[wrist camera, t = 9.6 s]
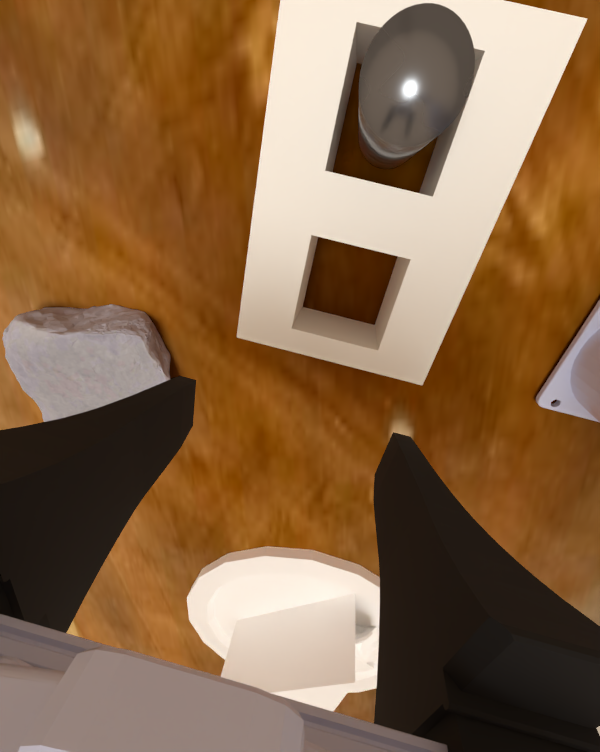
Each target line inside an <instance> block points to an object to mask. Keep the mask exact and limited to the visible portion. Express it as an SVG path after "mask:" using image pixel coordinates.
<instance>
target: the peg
mask: <svg viewBox="0 0 600 752" xmlns="http://www.w3.org/2000/svg"><path fill="white" fill-rule="evenodd" d="M474 70H475V53H474V46H473V42H472V38H471V36H470V33H469V30H468V29H467V27H466V25H465V23H464V22H463V21H462V19H461V18H460V17H459V16H458V15H457V14H456V13H455V12H454V11H452V10H450V9H449V8H447V7H445V6H442V5H439V4H434V3H421V4H416V5H413V6H410V7H407V8H405V9H403V10H401V11H399V12H398V13H397V14H395V15H394V16H392V17H391V18H390V19H389V20H388V21H387V22H386V23H385V24H384V25H383V26H382V27H381V28H380V29H379V31H378V32H377V34H376V35H375V36H374V38H373V40H372V41H371V43H370V45H369V47H368V49H367V52H366V54H365V56H364V60H363V63H362V67H361V71H360V78H359V119H358V140H359V146H360V149H361V152H362V154H363V156H364V157H365V159H366V160H367V161H368V162H369V163H370V164H372V165H373V166H375V167H378V168H382V169H391V168H395V167H398V166H400V165H402V164H403V163H405V162H406V161H407V160H409V159H410V158H411V157H412V156H414V155H415V154H416V153H417V152H418V151H420V150H421V149H422V148H423V147H425V146H426V145H427V144H428V143H430V142H431V141H432V140H433V139H435V138H436V137H437V136H438V135H440V134H441V133H442V132H443V131H444V130H445V129H446V128H448V127H449V126H450V124H451V123H452V122H453V121H454V120H455V118H456V117H457V116H458V114H459V113H460V111H461V110H462V108H463V106H464V104H465V102H466V100H467V98H468V95H469V92H470V89H471V86H472V82H473V78H474Z"/></svg>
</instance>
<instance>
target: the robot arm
mask: <svg viewBox="0 0 600 752" xmlns="http://www.w3.org/2000/svg"><path fill="white" fill-rule="evenodd" d="M195 386H196V380H193V379H190V378H186V377H182V376H178V377H175V378H172V379H170V380H168V381H165V382H163V383H160V384H158V385H156V386H153V387H151V388H149V389H146V390H144V391H141V392H139V393H137V394H134V395H132V396H129V397H126V398H124V399H121V400H118V401H116V402H113V403H110V404H107V405H105V406H102V407H99V408H96V409H93V410H89V411H86V412H83V413H79V414H76V415H72V416H68V417H65V418H61V419H56V420H51V421H47V422H42V423H38V424H33V425H28V426H23V427H18V428H12V429H6V430H0V752H600V736H599V734H598V731H597V729H596V728H597V727H598V726H600V626H598V625H597V624H596V623H594V622H593V621H592V620H590V619H589V618H588V617H586V616H585V615H583V614H582V613H581V612H579V611H578V610H577V609H575V608H574V607H573V606H571V605H570V604H569V603H567V602H566V601H564V600H563V599H562V598H561V597H559V596H558V595H557V594H555V593H554V592H553V591H552V590H551V589H549V588H548V587H547V586H546V585H544V584H543V583H542V582H541V581H539V580H538V579H537V578H536V577H535V576H533V575H532V574H531V573H530V572H529V571H528V570H526V569H525V568H524V567H523V566H522V565H521V564H519V563H518V562H517V561H516V560H515V559H514V558H513V557H512V556H511V555H510V554H509V553H507V552H506V551H505V550H504V549H503V548H502V547H501V546H500V545H499V544H498V543H497V542H496V541H495V540H494V539H493V538H492V537H491V536H490V535H489V534H488V533H487V532H486V531H485V530H484V529H483V528H482V527H481V526H480V525H479V524H478V523H477V522H476V521H475V520H474V519H473V518H472V517H471V515H470V514H469V513H468V512H467V511H466V510H465V509H464V507H463V506H462V505H461V504H460V503H459V501H458V500H457V499H456V498H455V497H454V495H453V494H452V493H451V492H450V490H449V489H448V488H447V487H446V485H445V484H444V483H443V481H442V480H441V479H440V477H439V476H438V475H437V473H436V472H435V471H434V469H433V468H432V466H431V465H430V464H429V462H428V461H427V459H426V458H425V457H424V455H423V454H422V452H421V451H420V449H419V448H418V447H417V445H416V444H415V442H414V441H413V440H412V438H411V437H409V436H405V435H401V434H398V433H394V432H393V434H392V436H391V439H390V441H389V443H388V445H387V448H386V450H385V452H384V455H383V457H382V459H381V462H380V464H379V466H378V468H377V471H376V473H375V481H374V511H375V522H376V533H377V544H378V554H379V567H380V616H379V648H378V670H377V689H376V704H375V719H374V724H373V723H370V722H367V721H363V720H360V719H356V718H353V717H350V716H346V715H343V714H339V713H336V712H333V711H329V710H326V709H322V708H319V707H316V706H312V705H309V704H305V703H302V702H299V701H295V700H292V699H288V698H285V697H282V696H278V695H275V694H271V693H269V692H266V691H264V690H262V689H259V688H257V687H253V686H250V685H247V684H243V683H240V682H236V681H233V680H229V679H226V678H223V677H219V676H216V675H212V674H209V673H206V672H202V671H199V670H195V669H192V668H189V667H185V666H182V665H178V664H175V663H172V662H168V661H165V660H161V659H158V658H154V657H151V656H148V655H144V654H141V653H137V652H134V651H131V650H126V649H120V648H115V647H111V646H108V645H104V644H101V643H98V642H94V641H91V640H87V639H84V638H81V637H77V636H74V635H70V634H67V633H66V632H67V630H68V628H69V626H70V625H71V623H72V621H73V619H74V617H75V615H76V613H77V611H78V609H79V607H80V605H81V603H82V601H83V599H84V597H85V596H86V594H87V592H88V590H89V588H90V586H91V585H92V583H93V581H94V579H95V577H96V576H97V574H98V572H99V570H100V568H101V566H102V565H103V563H104V561H105V559H106V558H107V556H108V554H109V552H110V551H111V549H112V547H113V545H114V544H115V542H116V540H117V538H118V537H119V535H120V533H121V532H122V530H123V528H124V527H125V525H126V523H127V522H128V520H129V518H130V517H131V515H132V514H133V512H134V510H135V509H136V507H137V506H138V504H139V503H140V501H141V500H142V498H143V497H144V496H145V494H146V493H147V492H148V490H149V489H150V488H151V486H152V485H153V484H154V482H155V481H156V480H157V478H158V477H159V476H160V475H161V473H162V472H163V471H164V469H165V468H166V467H167V465H168V464H169V463H170V461H171V460H172V459H173V457H174V456H175V454H176V453H177V452H178V450H179V449H180V447H181V446H182V444H183V442H184V441H185V439H186V437H187V435H188V433H189V431H190V430H191V428H192V426H193V414H194V400H195ZM553 400H557V401H556V402H555V403H553V404H551V402H552V401H553ZM536 402H537V404H538V405H539V406H540V407H543V408H546V409H550V410H554V411H558V412H562V413H566V414H570V415H573V416H577V417H581V418H585V419H589V420H593V421H597V422H600V300H599V301H598V303H597V304H596V306H595V307H594V309H593V310H592V312H591V314H590V315H589V317H588V318H587V320H586V321H585V323H584V324H583V326H582V327H581V329H580V330H579V332H578V333H577V335H576V337H575V338H574V340H573V341H572V343H571V344H570V346H569V347H568V349H567V350H566V352H565V353H564V355H563V356H562V358H561V360H560V361H559V363H558V364H557V366H556V367H555V369H554V370H553V372H552V373H551V375H550V376H549V378H548V379H547V381H546V383H545V384H544V386H543V387H542V389H541V390H540V392H539V393H538V395H537V396H536Z"/></svg>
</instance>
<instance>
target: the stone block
mask: <svg viewBox="0 0 600 752" xmlns="http://www.w3.org/2000/svg"><path fill="white" fill-rule="evenodd" d="M3 335H4V336H3V341H4V347H5V350H6V355H5V357H6V359H7V361H8V363H9V365H10V368H11V370H12V371H13V373H14V374H15V376H16V378H17V381H18V382H19V383H20V385H21V387H22V389H23V390H24V391H25V392H26V393H27V394H28V395H29V396H30V397H31V398H32V399H33V400H34V401H35V402H36V403H37V405H38V406H39V408H40V410H41V412H42V416H43V420H44V422H47V421H51V420H56V419H61V418H65V417H68V416H72V415H76V414H79V413H83V412H86V411H89V410H93V409H96V408H99V407H102V406H105V405H107V404H110V403H113V402H116V401H118V400H121V399H124V398H126V397H129V396H132V395H134V394H137V393H139V392H141V391H144V390H146V389H149V388H151V387H153V386H156V385H158V384H160V383H163V382H165V381H168V380H170V361H171V358H170V353H169V351H168V350H167V349H166V347H165V345H164V343H163V340H162V338H161V336H160V334H159V333H158V331H157V329H156V327H155V325H154V323H153V322H152V321H151V319H150V318H149V316H148V315H147V314H146V313H145V312H142V311H139V310H133V309H129V308H125V307H122V306H118V305H113V304H110V305H105V306H100V307H96V306H93V307H91V308H89V309H77V308H70V307H47V308H43V309H41V310H35V311H30V312H26V313H23V314H19V315H17V316H16V317H15V318H14V319H13V320H12V321H11V323H10V324H9V326H8V327H7V328H6V329H5V330H4V333H3Z"/></svg>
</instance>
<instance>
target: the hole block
mask: <svg viewBox="0 0 600 752" xmlns="http://www.w3.org/2000/svg"><path fill="white" fill-rule="evenodd" d="M421 3H434V4H439V5H442V6H445V7H447V8H449V9H450V10H452V11H454V12H455V13H456V14H457V15H458V16H459V17H460V18H461V19H462V21H463V22H464V23H465V25H466V27H467V29H468V30H469V33H470V36H471V38H472V42H473V46H474V53H475V70H474V78H473V82H472V86H471V89H470V92H469V95H468V98H467V100H466V102H465V104H464V106H463V108H462V110H461V111H460V113H459V114H458V116H457V117H456V118H455V120H454V121H453V122H452V123H451V124H450V126H449V127H448V128H446V129H445V130H444V131H443V132H442V133H441V134H440V135H438V138H437V141H436V144H435V147H434V150H433V153H432V156H431V159H430V162H429V165H428V168H427V171H426V174H425V177H424V180H423V183H422V186H421V189H420V192H419V193H416V192H412V191H408V190H404V189H399V188H395V187H391V186H387V185H383V184H379V183H374V182H370V181H366V180H362V179H358V178H354V177H349V176H345V175H341V174H337V173H333V168H334V164H335V159H336V155H337V150H338V146H339V141H340V137H341V132H342V128H343V123H344V119H345V114H346V110H347V105H348V101H349V96H350V92H351V87H352V83H353V78H354V74H355V69H356V65H357V63H359V64H362V63H363V60H364V56H365V54H366V52H367V49H368V47H369V45H370V43H371V41H372V40H373V38H374V36H375V35H376V34H377V32H378V31H379V29H380V28H381V27H382V26H383V25H384V24H385V23H386V22H387V21H388V20H389V19H390V18H391V17H392V16H394V15H395V14H397V13H398V12H399V11H401V10H403V9H405V8H407V7H410V6H413V5H416V4H421ZM586 21H587V19H586V18H582V17H577V16H572V15H568V14H563V13H559V12H554V11H550V10H545V9H541V8H536V7H532V6H527V5H522V4H518V3H513V2H509V1H504V0H280V8H279V15H278V23H277V31H276V38H275V46H274V54H273V61H272V69H271V77H270V84H269V92H268V100H267V107H266V115H265V123H264V130H263V138H262V146H261V153H260V161H259V169H258V176H257V184H256V192H255V199H254V207H253V215H252V222H251V230H250V238H249V245H248V253H247V261H246V268H245V276H244V284H243V291H242V299H241V307H240V314H239V322H238V330H237V338H241V339H245V340H249V341H253V342H256V343H260V344H264V345H268V346H272V347H276V348H280V349H283V350H287V351H291V352H295V353H299V354H303V355H307V356H310V357H314V358H318V359H322V360H326V361H330V362H334V363H337V364H341V365H345V366H349V367H353V368H357V369H361V370H364V371H368V372H372V373H376V374H380V375H384V376H388V377H391V378H395V379H399V380H403V381H407V382H411V383H415V384H418V385H423V383H424V381H425V378H426V376H427V374H428V372H429V370H430V367H431V365H432V363H433V361H434V358H435V356H436V354H437V352H438V350H439V347H440V345H441V343H442V341H443V338H444V336H445V334H446V332H447V330H448V327H449V325H450V323H451V321H452V318H453V316H454V314H455V312H456V310H457V307H458V305H459V303H460V301H461V298H462V296H463V294H464V292H465V290H466V287H467V285H468V283H469V281H470V278H471V276H472V274H473V272H474V270H475V267H476V265H477V263H478V261H479V258H480V256H481V254H482V252H483V250H484V247H485V245H486V243H487V241H488V238H489V236H490V234H491V232H492V230H493V227H494V225H495V223H496V221H497V218H498V216H499V214H500V212H501V210H502V207H503V205H504V203H505V201H506V199H507V196H508V194H509V192H510V190H511V187H512V185H513V183H514V181H515V179H516V176H517V174H518V172H519V170H520V167H521V165H522V163H523V161H524V159H525V156H526V154H527V152H528V150H529V147H530V145H531V143H532V141H533V139H534V136H535V134H536V132H537V130H538V127H539V125H540V123H541V121H542V119H543V116H544V114H545V112H546V110H547V107H548V105H549V103H550V101H551V99H552V96H553V94H554V92H555V90H556V87H557V85H558V83H559V81H560V79H561V76H562V74H563V72H564V70H565V67H566V65H567V63H568V61H569V59H570V56H571V54H572V52H573V50H574V47H575V45H576V43H577V41H578V39H579V36H580V34H581V32H582V30H583V27H584V25H585V23H586ZM318 237H322V238H326V239H330V240H334V241H338V242H342V243H346V244H350V245H354V246H358V247H362V248H366V249H370V250H374V251H378V252H382V253H386V254H390V255H394V256H398V257H397V260H396V263H395V266H394V269H393V272H392V275H391V278H390V281H389V284H388V287H387V290H386V293H385V296H384V299H383V302H382V305H381V308H380V311H379V313H378V316H377V319H376V322H375V325H373V324H369V323H365V322H361V321H357V320H353V319H349V318H345V317H341V316H337V315H333V314H329V313H325V312H321V311H318V310H314V309H310V308H306V307H303V303H304V299H305V294H306V290H307V285H308V281H309V276H310V272H311V267H312V263H313V258H314V254H315V249H316V245H317V240H318Z"/></svg>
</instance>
